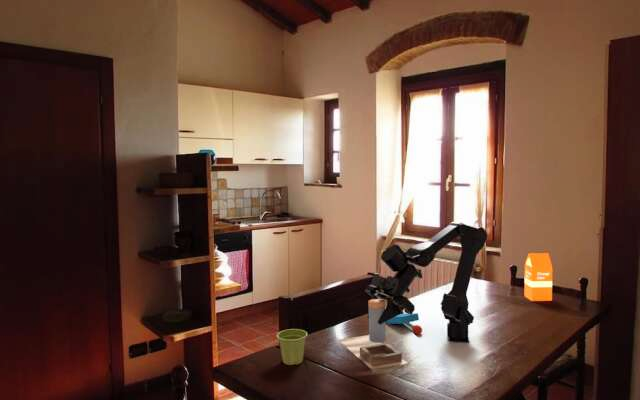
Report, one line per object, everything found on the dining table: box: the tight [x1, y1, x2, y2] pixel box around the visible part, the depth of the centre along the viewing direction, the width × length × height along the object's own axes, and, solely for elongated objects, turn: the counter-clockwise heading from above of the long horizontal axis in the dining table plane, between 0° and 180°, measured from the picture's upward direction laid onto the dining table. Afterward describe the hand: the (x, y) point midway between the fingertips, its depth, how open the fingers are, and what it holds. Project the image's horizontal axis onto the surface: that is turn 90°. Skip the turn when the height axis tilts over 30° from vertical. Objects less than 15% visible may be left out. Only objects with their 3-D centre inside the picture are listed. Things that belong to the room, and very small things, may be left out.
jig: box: [337, 334, 409, 374], centre depth 153 cm, size 26×12×4 cm, turn 20°
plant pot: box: [276, 328, 308, 366], centre depth 148 cm, size 9×9×9 cm
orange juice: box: [524, 252, 553, 302], centre depth 211 cm, size 8×9×20 cm
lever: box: [385, 312, 423, 336], centre depth 177 cm, size 7×7×18 cm
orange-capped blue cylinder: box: [367, 299, 387, 343], centre depth 148 cm, size 5×5×12 cm
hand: (373, 321), depth 147 cm, fingers closed on orange-capped blue cylinder, 5 cm apart
